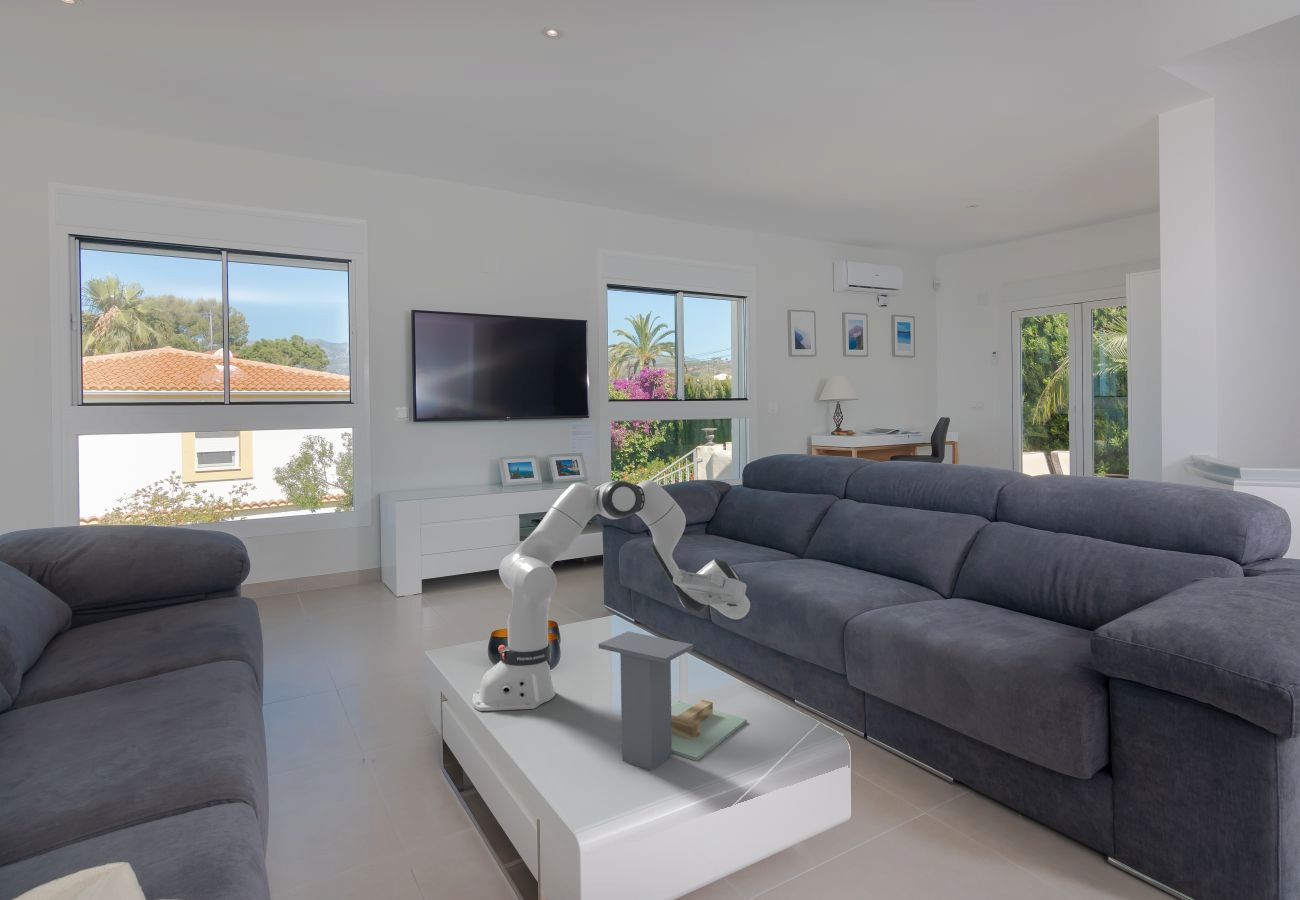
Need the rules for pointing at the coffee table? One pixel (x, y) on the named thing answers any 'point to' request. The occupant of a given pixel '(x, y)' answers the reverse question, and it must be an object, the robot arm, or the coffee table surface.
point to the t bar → (691, 720)
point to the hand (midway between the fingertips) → (695, 574)
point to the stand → (646, 695)
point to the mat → (704, 733)
